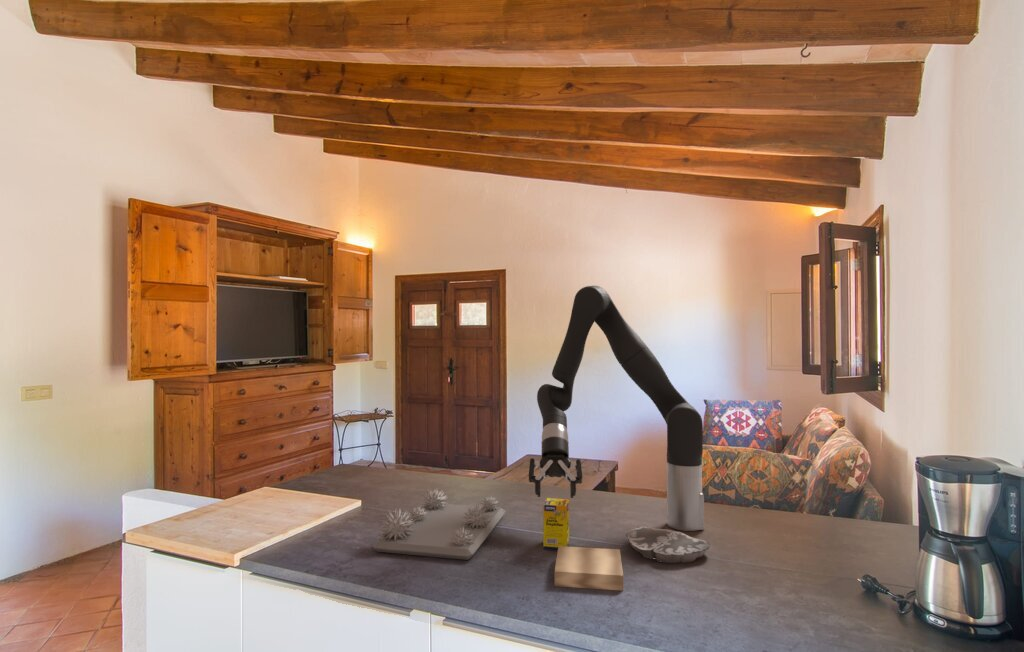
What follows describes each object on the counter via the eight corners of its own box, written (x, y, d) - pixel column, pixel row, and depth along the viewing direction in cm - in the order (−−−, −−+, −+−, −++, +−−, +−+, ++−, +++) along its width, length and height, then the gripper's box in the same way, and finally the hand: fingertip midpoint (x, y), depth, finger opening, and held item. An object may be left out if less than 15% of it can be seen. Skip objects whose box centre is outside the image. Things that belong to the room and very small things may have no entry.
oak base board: (619, 562, 123) (619, 549, 123) (623, 590, 109) (623, 575, 109) (558, 559, 125) (558, 546, 125) (554, 585, 111) (554, 571, 111)
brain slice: (611, 554, 129) (611, 542, 129) (640, 534, 142) (640, 523, 142) (693, 576, 117) (693, 562, 117) (716, 552, 130) (716, 539, 130)
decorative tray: (471, 565, 123) (471, 521, 123) (367, 555, 128) (367, 513, 129) (506, 517, 157) (506, 482, 157) (423, 511, 162) (423, 477, 163)
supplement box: (567, 551, 130) (567, 506, 130) (542, 549, 131) (542, 504, 131) (569, 542, 136) (569, 499, 136) (546, 541, 137) (546, 497, 137)
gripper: (529, 435, 149) (527, 487, 137) (581, 435, 148) (583, 489, 136) (529, 450, 154) (528, 502, 142) (579, 451, 153) (582, 504, 141)
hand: (555, 496), depth 139 cm, fingers open, 8 cm apart
